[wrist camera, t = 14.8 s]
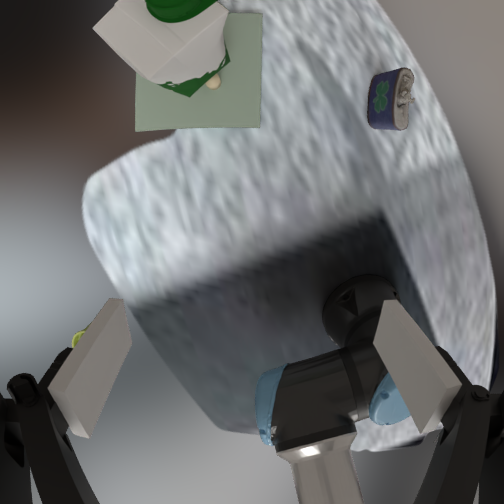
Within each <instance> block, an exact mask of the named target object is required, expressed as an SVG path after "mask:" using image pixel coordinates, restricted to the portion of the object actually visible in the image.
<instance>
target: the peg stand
mask: <svg viewBox="0 0 504 504" xmlns="http://www.w3.org/2000/svg"><path fill="white" fill-rule="evenodd" d="M223 34H224V39H225V43H226V47H227V50H228V54H229V57H230V61H231V62H230V63H228V64H227V65H226V66H225V67H224V68H222V69H221V70H220V71H219V72H218V73H216V74H215V75H214V76H213V77H212V78H211V79H210V80H208V81H207V82H206V83H205V84H204V85H203V86H202V87H201V88H199V89H198V90H197V91H196V92H195V93H194V94H193V95H192V96H191V97H190V98H189V97H187V96H184V95H181V94H179V93H176V92H173V91H171V90H168V89H166V88H163V87H161V86H159V85H157V84H155V83H153V82H151V81H149V80H147V79H145V78H143V77H142V76H140V75H139V74H138V73H137V72H136V96H135V98H136V99H135V131H136V132H138V131H150V130H163V129H182V128H217V127H243V128H260V103H261V59H262V14H260V13H228V15H227V18H226V21H225V25H224V28H223Z"/></svg>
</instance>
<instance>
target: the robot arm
mask: <svg viewBox="0 0 504 504" xmlns="http://www.w3.org/2000/svg"><path fill="white" fill-rule="evenodd" d="M323 324H324V327H325V330H326V332H327V334H328V336H329V338H330V339H331V340H332V341H333V342H334V343H335V344H337V345H338V346H339V347H340V348H341V349H337V350H334V351H331V352H328V353H325V354H322V355H318V356H315V357H312V358H309V359H305V360H302V361H298V362H295V363H291V364H290V363H287V364H285V365H283V366H281V367H278V368H275V369H272V370H269V371H266V372H265V373H263V374H262V375H261V376H260V378H259V380H258V383H257V386H256V392H255V412H256V421H257V426H258V428H259V432H260V437H261V439H262V441H263V442H264V443H265V444H266V445H270V446H274V445H275V449H276V453H277V456H279V457H281V458H283V459H284V460H286V461H288V462H289V464H290V466H291V470H292V474H293V479H294V483H295V488H296V492H297V496H298V501H299V504H364V501H363V497H362V493H361V489H360V485H359V481H358V477H357V473H356V469H355V465H354V461H353V457H352V454H351V450H350V447H351V444H352V442H353V441H354V439H355V437H356V436H357V431H356V427H355V422H357V421H360V420H363V419H366V418H369V417H370V419H371V420H372V421H373V422H374V423H376V424H378V425H385V424H386V425H391V424H395V423H397V422H400V421H402V420H404V419H406V418H407V417H409V416H410V415H411V416H412V418H413V420H414V422H415V424H416V426H417V428H418V430H419V432H420V434H423V433H427V432H430V431H433V430H435V429H436V427H437V426H438V424H439V423H440V421H441V422H442V424H443V426H444V427H443V429H442V430H441V432H440V433H439V435H438V436H437V438H436V439H435V441H434V443H436V441H437V440H438V442H437V445H436V448H435V451H434V454H433V457H432V460H431V462H430V465H429V468H428V471H427V473H426V476H425V478H424V480H423V483H422V485H421V488H420V490H419V493H418V495H417V497H416V499H415V501H414V503H413V504H473V501H474V498H475V494H476V490H477V486H478V483H479V504H504V391H503V392H502V394H490V392H489V391H488V390H487V389H486V388H484V387H482V386H480V385H472V384H471V382H470V381H469V380H468V378H467V377H466V376H465V374H464V373H463V372H462V370H461V369H460V368H459V366H457V364H456V362H455V361H453V359H452V357H451V356H450V355H449V353H448V352H447V351H445V350H444V349H442V348H441V347H440V346H437V347H434V346H433V344H432V343H431V342H430V340H429V339H428V338H427V337H426V335H425V334H424V333H423V331H422V330H421V329H420V328H419V326H418V325H417V324H416V323H415V321H414V320H413V319H412V318H411V316H410V315H409V314H408V313H407V312H406V310H405V309H404V308H403V307H402V305H401V301H400V297H399V295H398V293H397V291H396V289H395V288H394V287H393V286H392V285H391V283H390V282H389V281H387V280H386V279H384V278H383V277H380V276H377V275H362V276H357V277H354V278H352V279H350V280H348V281H346V282H344V283H343V284H341V285H340V286H339V287H338V288H337V289H336V290H335V291H334V292H333V293H332V294H331V295H330V297H329V298H328V300H327V302H326V304H325V306H324V310H323ZM131 345H132V340H131V335H130V331H129V326H128V322H127V317H126V312H125V307H124V302H123V299H113V298H109V300H108V301H107V302H106V304H105V305H104V306H103V308H102V309H101V310H100V312H99V313H98V315H97V316H96V317H95V319H94V320H93V321H92V323H91V324H90V326H89V327H88V328H87V330H86V331H85V333H84V334H83V335H82V337H81V338H80V340H79V341H78V343H77V344H76V346H75V347H74V348H68V347H67V348H66V349H65V350H63V351H62V352H61V353H59V354H58V356H57V357H56V359H55V360H54V363H52V364H51V366H50V369H48V370H47V372H46V373H45V375H44V376H43V378H42V379H41V381H40V382H39V384H37V382H36V380H35V378H34V376H32V375H31V374H27V373H22V374H18V375H16V376H14V377H13V378H12V379H10V381H9V382H8V384H7V390H8V392H9V394H10V395H11V397H12V399H5V398H3V396H2V395H1V393H0V504H33V503H32V493H31V480H30V468H31V471H32V474H33V478H34V481H35V484H36V487H37V490H38V493H39V495H40V498H41V501H42V503H43V504H100V503H99V502H98V500H97V498H96V496H95V494H94V492H93V491H92V489H91V487H90V485H89V483H88V481H87V479H86V476H85V474H84V472H83V470H82V468H81V466H80V464H79V461H78V459H77V457H76V454H75V452H74V450H73V447H72V445H71V443H70V440H69V438H68V436H67V434H66V431H67V429H68V427H70V429H71V430H72V432H73V434H74V435H78V436H82V437H85V438H89V439H90V437H91V435H92V432H93V430H94V427H95V425H96V423H97V420H98V418H99V415H100V413H101V411H102V408H103V406H104V404H105V402H106V399H107V397H108V395H109V392H110V390H111V388H112V386H113V383H114V381H115V379H116V377H117V374H118V373H119V370H120V368H121V366H122V364H123V361H124V360H125V357H126V355H127V353H128V351H129V349H130V347H131Z"/></svg>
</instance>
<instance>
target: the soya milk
mask: <svg viewBox="0 0 504 504" xmlns="http://www.w3.org/2000/svg"><path fill="white" fill-rule="evenodd" d="M217 1H218V0H118V2H116V3H115V6H114V7H113V8H112V9H111V10H110V11H109V12H108V13H107V14H106V15H105V16H104V17H103V18H102V19H101V20H100V21H99V22H98V23H97V24H96V25H95V26H94V27H93V30H95V32H96V33H97V34H98V35H100V37H101V38H102V39H103V40H105V42H106V43H107V44H108V45H109V46H110V47H111V48H112V49H113V50H114V51H115V52H116V53H117V54H118V55H119V56H120V57H121V58H122V59H123V60H124V61H125V62H126V63H127V64H128V65H130V67H132V68H133V69H134V70H135V71H136V72H137V73H138V74H139V75H140V76H142V77H143V78H145V79H147V80H149V81H151V82H153V83H155V84H157V85H159V86H161V87H163V88H166V89H168V90H171V91H173V92H176V93H179V94H181V95H184V96H187V97H189V98H190V97H191V96H192V95H193V94H194V93H195V92H196V91H197V90H198V89H199V88H201V87H202V86H203V85H204V84H205V83H206V82H207V81H208V80H210V79H211V78H212V77H213V76H214V75H215V74H216V73H218V72H219V71H220V70H221V69H222V68H224V67H225V66H226V65H227V64H228V63H230V62H231V61H230V57H229V54H228V50H227V47H226V43H225V39H224V34H223V28H224V25H225V21H226V18H227V15H228V12H229V11H228V10H227V9H226V8H225V7H224V6H222V5H221V4H220V3H218V2H217Z"/></svg>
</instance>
